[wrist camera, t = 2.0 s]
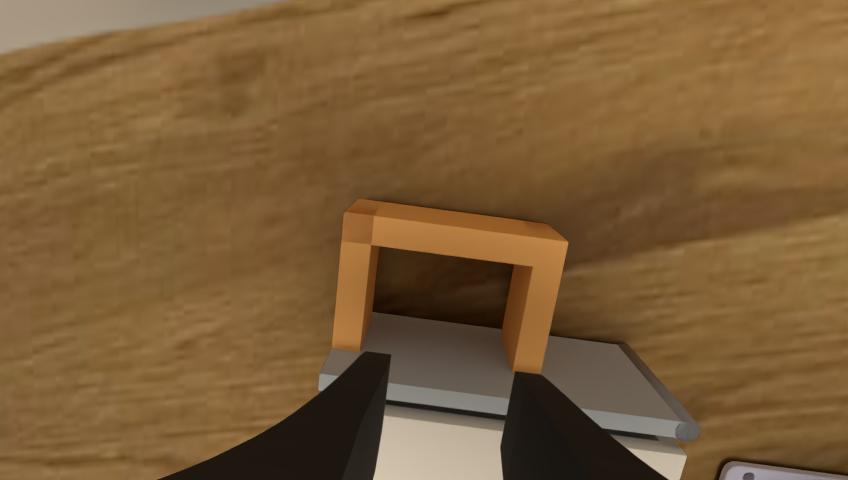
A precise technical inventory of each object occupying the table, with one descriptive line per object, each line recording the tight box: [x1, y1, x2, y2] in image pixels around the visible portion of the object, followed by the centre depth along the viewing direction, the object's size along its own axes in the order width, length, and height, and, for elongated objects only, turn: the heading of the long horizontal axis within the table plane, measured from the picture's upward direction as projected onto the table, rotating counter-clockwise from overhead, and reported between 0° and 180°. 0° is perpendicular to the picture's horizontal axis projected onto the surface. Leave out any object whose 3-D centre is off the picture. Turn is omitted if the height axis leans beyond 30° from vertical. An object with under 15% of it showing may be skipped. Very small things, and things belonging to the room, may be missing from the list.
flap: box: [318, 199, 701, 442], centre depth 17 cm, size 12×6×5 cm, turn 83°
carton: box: [373, 399, 687, 480], centre depth 18 cm, size 12×8×6 cm, turn 83°
